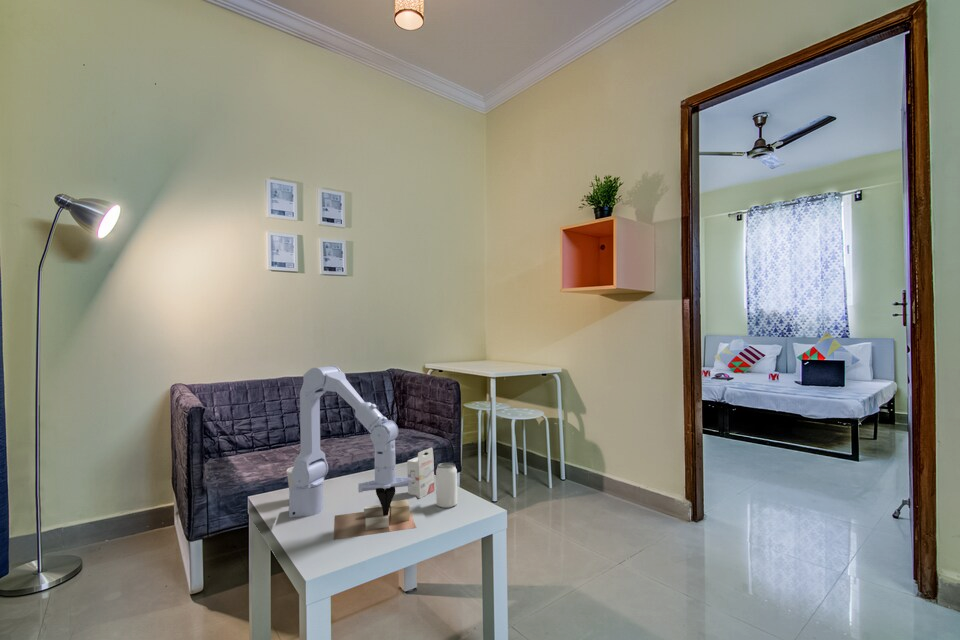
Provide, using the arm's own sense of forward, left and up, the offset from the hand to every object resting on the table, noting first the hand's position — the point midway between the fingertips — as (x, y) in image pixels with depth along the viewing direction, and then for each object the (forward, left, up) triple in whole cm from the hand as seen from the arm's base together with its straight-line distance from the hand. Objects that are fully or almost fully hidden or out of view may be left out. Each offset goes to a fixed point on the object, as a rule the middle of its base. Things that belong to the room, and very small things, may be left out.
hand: (385, 514), depth 125 cm
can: (+19, +8, -3) cm, 21 cm away
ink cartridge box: (+13, +20, -3) cm, 24 cm away
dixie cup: (-25, +28, -3) cm, 37 cm away
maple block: (+4, 0, -1) cm, 4 cm away
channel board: (-3, 0, -2) cm, 4 cm away
